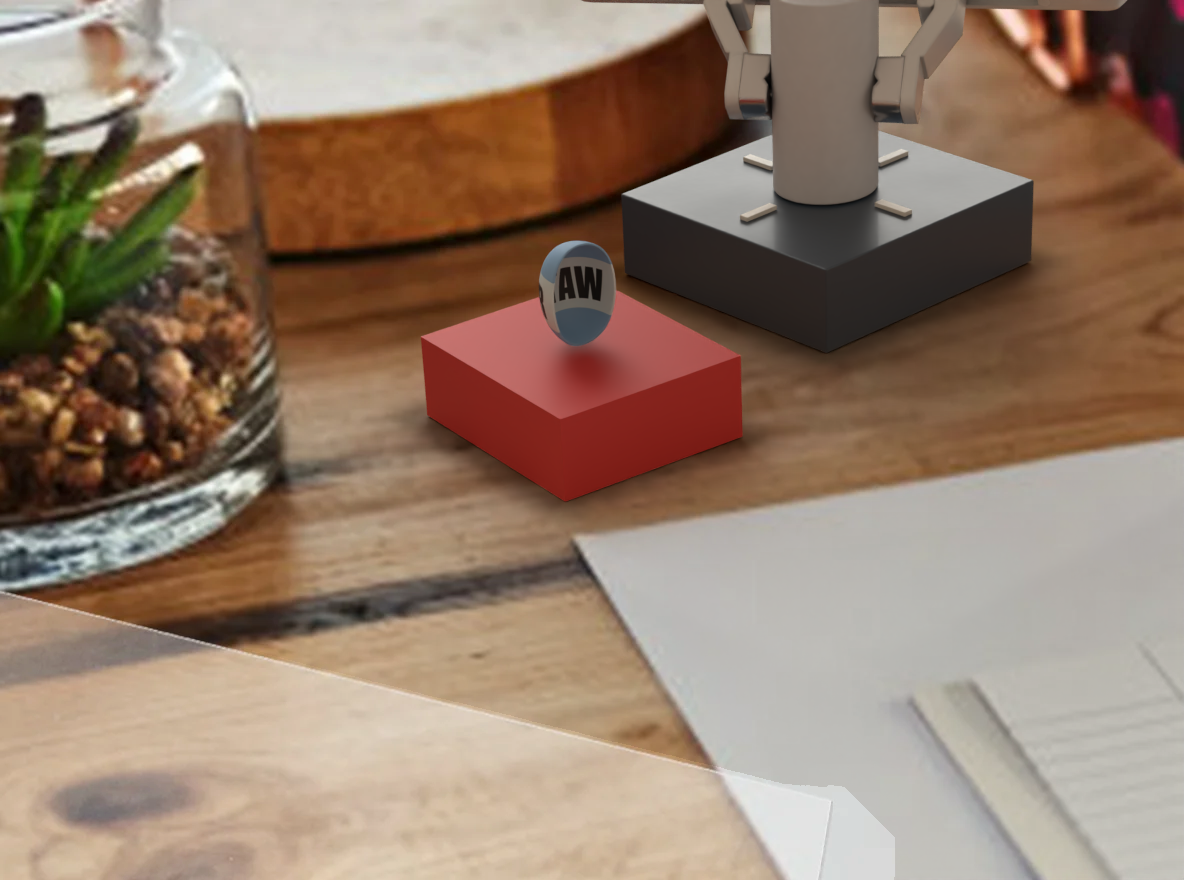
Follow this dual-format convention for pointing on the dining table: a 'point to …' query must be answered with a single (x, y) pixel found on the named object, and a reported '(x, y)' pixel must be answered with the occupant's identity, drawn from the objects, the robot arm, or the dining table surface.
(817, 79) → the cylinder
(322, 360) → the dining table surface
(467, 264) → the dining table surface
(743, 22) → the robot arm
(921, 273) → the base
